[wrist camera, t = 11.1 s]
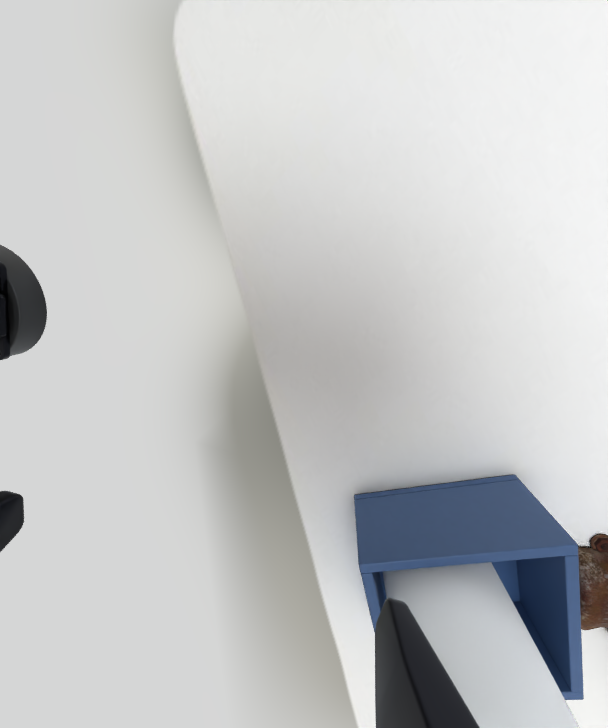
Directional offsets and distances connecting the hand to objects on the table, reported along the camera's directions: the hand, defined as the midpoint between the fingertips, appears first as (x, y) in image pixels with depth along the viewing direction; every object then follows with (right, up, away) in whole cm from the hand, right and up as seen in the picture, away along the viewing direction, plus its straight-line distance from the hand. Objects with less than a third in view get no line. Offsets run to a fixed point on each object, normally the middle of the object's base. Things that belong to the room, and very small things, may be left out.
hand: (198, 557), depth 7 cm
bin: (+12, -8, +14) cm, 20 cm away
